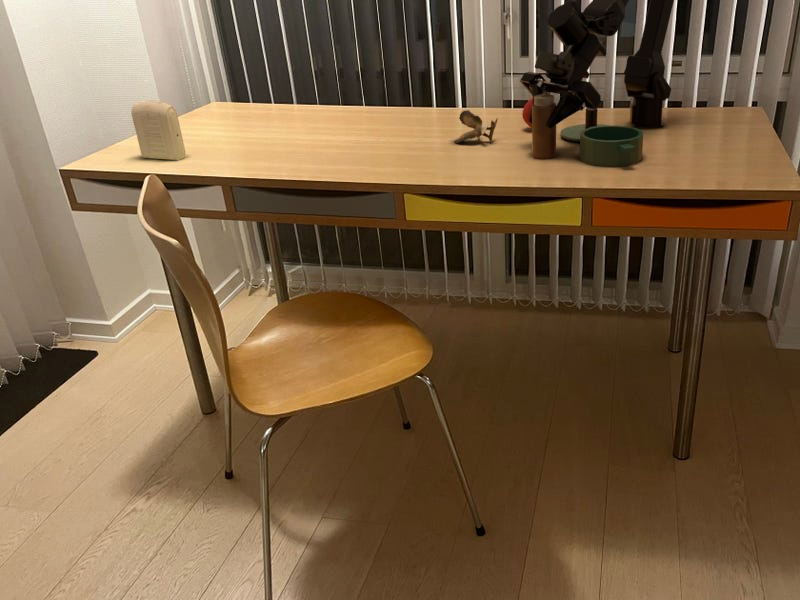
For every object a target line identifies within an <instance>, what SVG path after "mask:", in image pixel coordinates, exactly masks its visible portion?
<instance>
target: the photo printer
mask: <svg viewBox="0 0 800 600" xmlns="http://www.w3.org/2000/svg"><path fill="white" fill-rule="evenodd" d="M130 113H131V117H132V118H131V119H132V122H133V127H134V130H135V135H136V139H137V143H138V146H139V150H140V155H141V157H142V158H144V159H159V160H171V161H173V160H175V161H180V160H183V159H185V158H186V155H187V154H186V148H185V143H184V139H183V134H182V130H181V125H180V120H179V116H178V112H177V110H176V108H175V107H174V106H173V105H171V104H169V103H166V102H164V101H163V102H162V101H158V100H144V101H140V102H138V103H135V104H133V105H132V107H131V111H130Z"/></svg>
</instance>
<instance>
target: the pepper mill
mask: <svg viewBox="0 0 800 600" xmlns="http://www.w3.org/2000/svg"><path fill="white" fill-rule="evenodd" d="M556 106H557V103H556V102H555V96H554V95H553V94H551V93H550V94H545V93H543V94H540V95H536V96H534V103H533V104H532V128H531V139H532V140H531V149H532V150H531V151H532V152H531V153H532V157H533V158H535V159H540V160H545V159H547V160H548V159H552V158H555V157H556V156H557V125H555V126H554V127H552V128H548V127H547V123H548V121H549V119H550V117H551V115H552V113H553V111H554V109H555V107H556Z"/></svg>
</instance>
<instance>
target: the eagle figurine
mask: <svg viewBox="0 0 800 600" xmlns="http://www.w3.org/2000/svg"><path fill="white" fill-rule="evenodd" d="M458 119H459V121H460V122H461V124H463V125H464V126H466V127H468V128H470V129H472V130H469V131H466V132H464V133H462V134H461V135H460V136H459V137H458V138H456V139H454V140H453V142H454V143H456V144H458V143H461V142H463V141H465V140H473V139H475V138H476V139H478V140H480V139H481V136H482V137H485V138H488V140H489V143H493V137H494V134H495V133H494V132H495V129H496V127H497V125H498V124H497V123H498V119H499V118H498V117H497V118H495V120H491V121H490V126H489V121H488V120H486V121H485V122H483V120H482V118H481V117H480V116H479V115H476V114H474V113H472V112H471V111H470V110H469V109H466V110H463V111H461V112H460V114H459V117H458ZM486 131H489V134H488V133H486Z"/></svg>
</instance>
